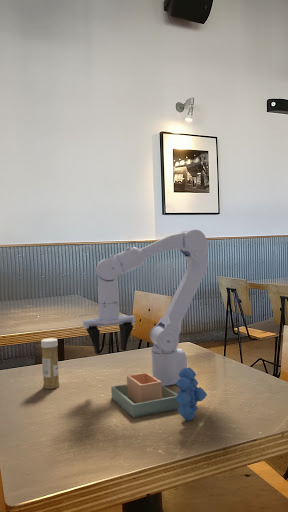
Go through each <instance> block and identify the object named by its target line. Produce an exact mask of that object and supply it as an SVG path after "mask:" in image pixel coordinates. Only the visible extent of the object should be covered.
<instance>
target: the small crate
mask: <svg viewBox="0 0 288 512" xmlns="http://www.w3.org/2000/svg"><path fill="white" fill-rule="evenodd" d="M126 384H127V395H128V398H129V399H130V400H132V401H133V402H134V403H135V404H136V403H141V402H147V401H152V400H157V399H162V382H161V381H160V380H158V379H156V378H155V377H153V374H150V373H148V372H147V371H146V372H141V373H136V374H129V375H126Z"/></svg>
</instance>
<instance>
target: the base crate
mask: <svg viewBox="0 0 288 512" xmlns="http://www.w3.org/2000/svg"><path fill="white" fill-rule="evenodd" d="M177 395H178V394H177V392H175V391H173V390H171V389H169V387H167V386H163V385H162V399H157V400H152V401H147V402H141V403H136V404H135V403H134V402H133V401H132V400H130V399H129V398H128V395H127V383H125V384H120V385H114V386H112V385H111V399H112V401H114V402H115V403H116V404H117V405H118V406H120V407H121V409H123V410H124V411H125V412H126V413H127V414H128V415H129V416H130V417H132V419H136V418H137V419H138V418H141V417H147V416H151V415H157V414H161V413H168V412H171V411H178V410H177V409H178V408H179V407H180V404H179V403H178V401H177V400H176V396H177Z"/></svg>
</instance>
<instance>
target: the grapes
mask: <svg viewBox="0 0 288 512" xmlns="http://www.w3.org/2000/svg"><path fill="white" fill-rule="evenodd" d="M178 375H179V376H180V379H179V380H178V381H177V383H176V384H175V385H176V387H178V391H177V392H176V394H178V395H177V396H176V400H177V401H178V403H179V404H180V407H179V408H178V409H177V410H176V411H177V412H178V414H179V415H180V416H181V417H182V418H183V419H184V420H185V421H186V422H189V421H192V420H193V419H194V417H195V416H196V412H197V410H198V409H199V407H198V406H197V405H198V404H197V403H198V402H202V401H204V399H206V397H207V396H208V394H207V393H206V391H205V390H204V388H202V387H198V384H199V382H198V381H197V379H196V376H197V374H196V372H195V371H194V369H193V368H191V367H187V368H183V369H182V370H181V371H180V372H179V374H178Z"/></svg>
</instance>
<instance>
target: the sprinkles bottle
mask: <svg viewBox="0 0 288 512" xmlns="http://www.w3.org/2000/svg"><path fill="white" fill-rule="evenodd" d="M58 345H59V344H58V339H57V338H55V337H54V338H53V337H48V338H43V339H41V341H40V347H41V355H42V356H41V363H42V376H43V378H42V381H43V385H42V386H43V389H47V390H52V389H56V388H58V387H59V386H60V382H59V381H60V378H59V375H60V374H59V358H58Z"/></svg>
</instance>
